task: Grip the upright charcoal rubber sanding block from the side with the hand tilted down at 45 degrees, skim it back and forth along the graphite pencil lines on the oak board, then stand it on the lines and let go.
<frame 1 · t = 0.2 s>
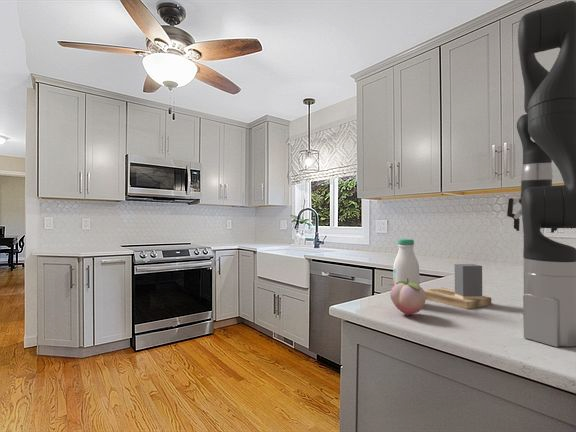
hand: (534, 231, 100), 22 cm above the counter, tool pointing down, fingers open, 8 cm apart
milk bottle: (406, 304, 100), on the counter
oak board: (453, 300, 104), on the counter
decorative fruit: (408, 315, 88), on the counter
sanding block: (468, 297, 100), point 2 cm above the counter, touching oak board
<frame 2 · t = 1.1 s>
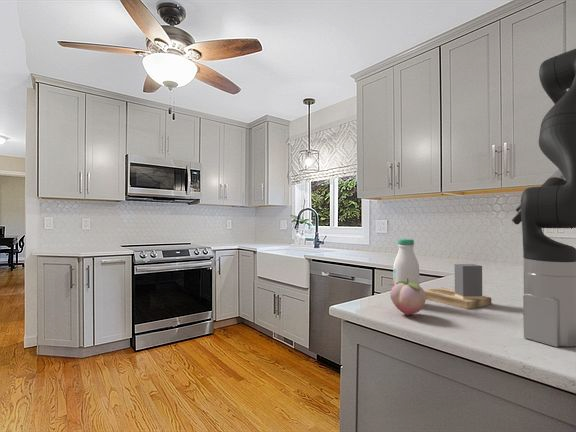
hand: (525, 222, 98), 25 cm above the counter, tool tilted 45°, fingers open, 8 cm apart
nothing on the counter moved.
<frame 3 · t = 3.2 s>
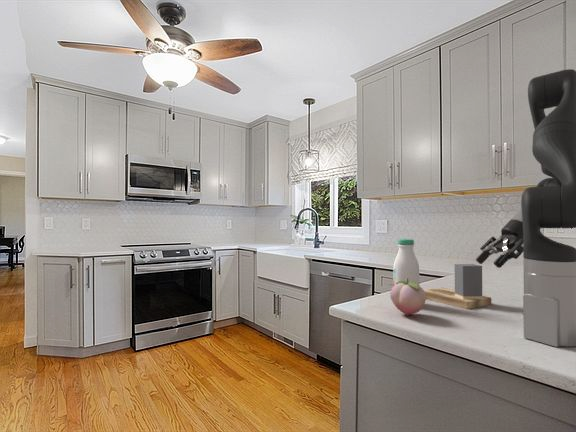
hand: (486, 263, 100), 12 cm above the counter, tool tilted 45°, fingers open, 8 cm apart
nothing on the counter moved.
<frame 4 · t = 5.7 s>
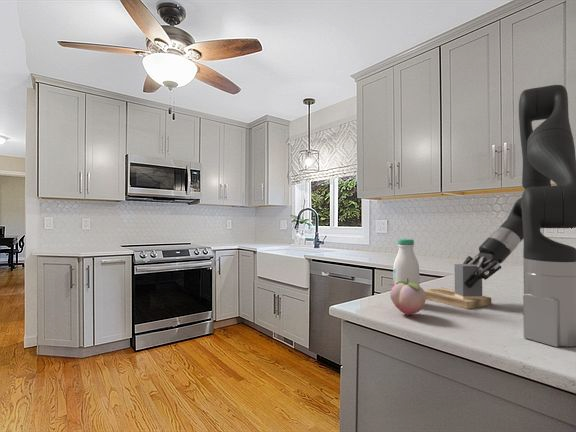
hand: (462, 284, 100), 6 cm above the counter, tool tilted 45°, fingers closed on sanding block, 4 cm apart
sanding block: (468, 297, 100), point 2 cm above the counter, touching gripper, oak board
everything else where it was.
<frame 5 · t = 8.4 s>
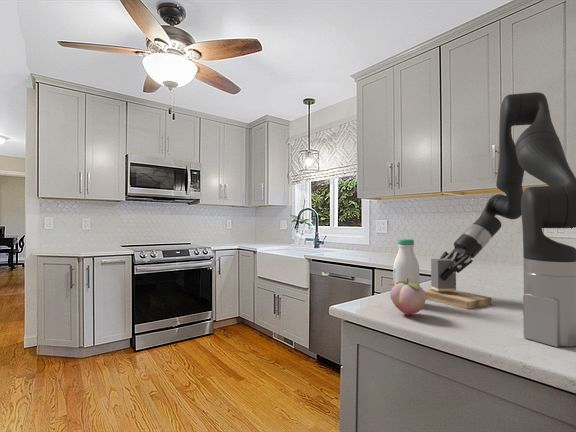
hand: (437, 277, 107), 7 cm above the counter, tool tilted 45°, fingers closed on sanding block, 4 cm apart
sanding block: (443, 289, 107), point 3 cm above the counter, touching gripper
everything else where it was.
when the fingers open (6 cm above the counter, at t = 11.2 s): sanding block stays where it is, resting on oak board.
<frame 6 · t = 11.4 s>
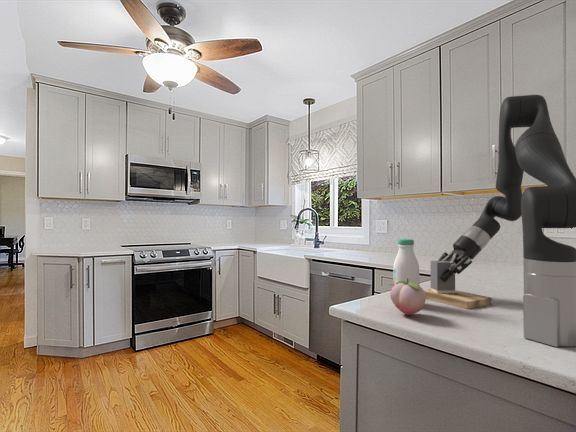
hand: (437, 278, 108), 7 cm above the counter, tool tilted 45°, fingers open, 5 cm apart
sanding block: (442, 291, 108), point 2 cm above the counter, touching oak board
everything else where it was.
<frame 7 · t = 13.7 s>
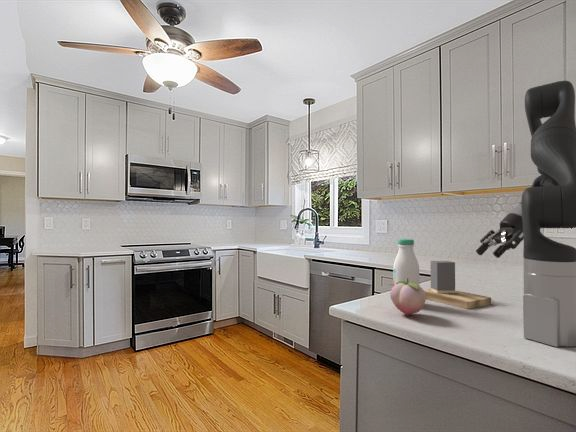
hand: (486, 254, 106), 15 cm above the counter, tool tilted 45°, fingers open, 8 cm apart
nothing on the counter moved.
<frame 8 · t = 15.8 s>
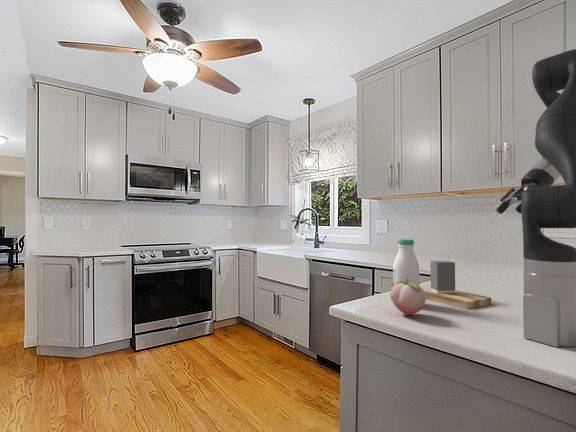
hand: (507, 211, 103), 29 cm above the counter, tool tilted 45°, fingers open, 8 cm apart
nothing on the counter moved.
at the end: sanding block inside the target area (0.5 cm from its centre), point 2.1 cm above the counter; sanding block tilted 0°; the gripper is holding nothing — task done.
